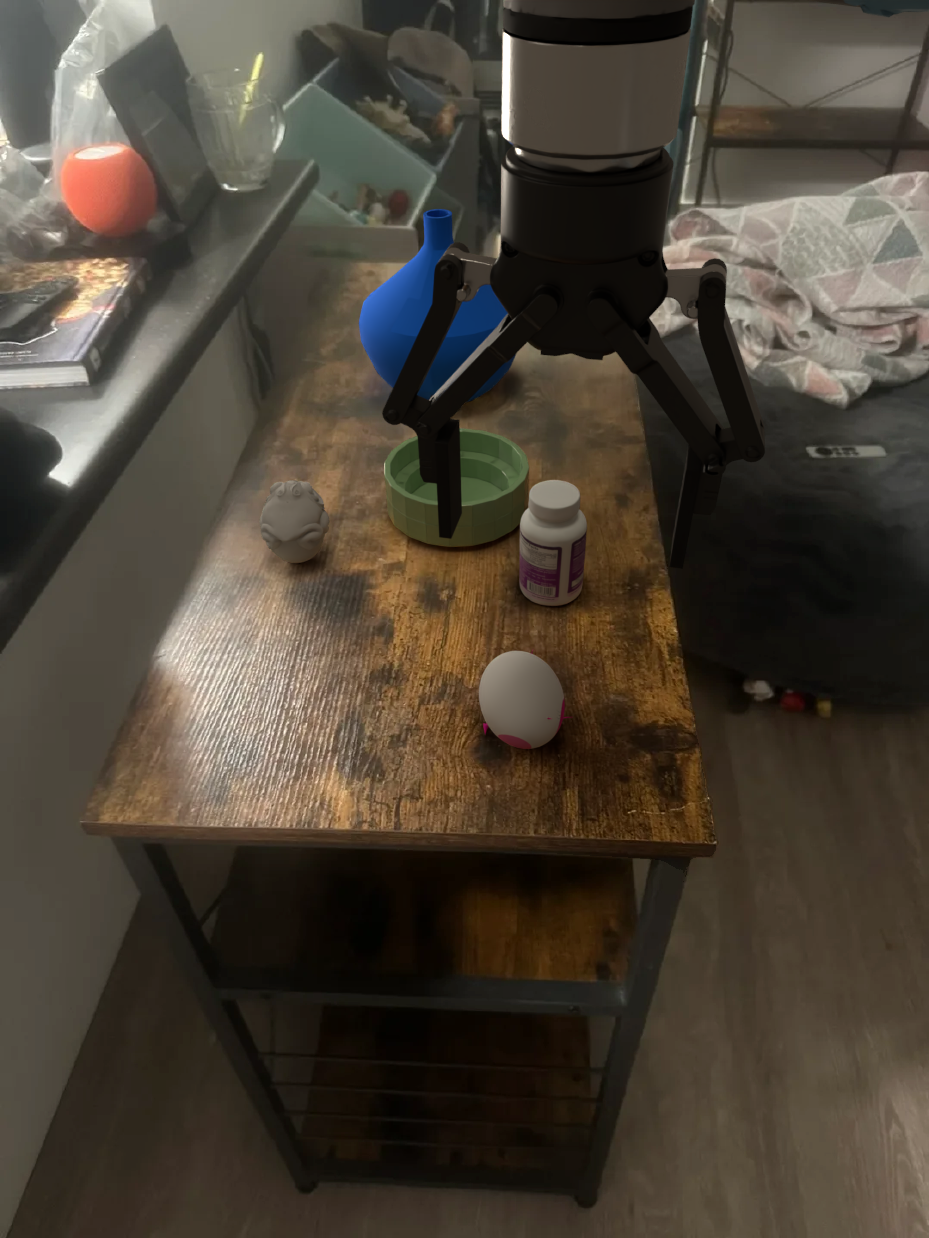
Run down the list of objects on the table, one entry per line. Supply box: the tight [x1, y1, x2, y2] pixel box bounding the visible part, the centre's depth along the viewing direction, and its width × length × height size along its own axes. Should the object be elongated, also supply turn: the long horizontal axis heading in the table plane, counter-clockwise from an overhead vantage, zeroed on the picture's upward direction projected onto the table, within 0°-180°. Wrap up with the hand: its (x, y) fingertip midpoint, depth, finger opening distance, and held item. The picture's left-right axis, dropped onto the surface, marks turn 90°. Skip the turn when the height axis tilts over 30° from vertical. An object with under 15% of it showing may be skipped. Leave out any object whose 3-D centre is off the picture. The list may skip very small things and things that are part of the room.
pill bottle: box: [518, 479, 588, 607], centre depth 72 cm, size 5×5×10 cm
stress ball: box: [478, 648, 572, 750], centre depth 62 cm, size 8×8×7 cm
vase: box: [358, 208, 518, 403], centre depth 96 cm, size 18×18×19 cm
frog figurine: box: [259, 479, 331, 564], centre depth 77 cm, size 6×7×7 cm
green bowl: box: [383, 427, 530, 548], centre depth 82 cm, size 13×13×5 cm
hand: (561, 539), depth 52 cm, fingers open, 13 cm apart
